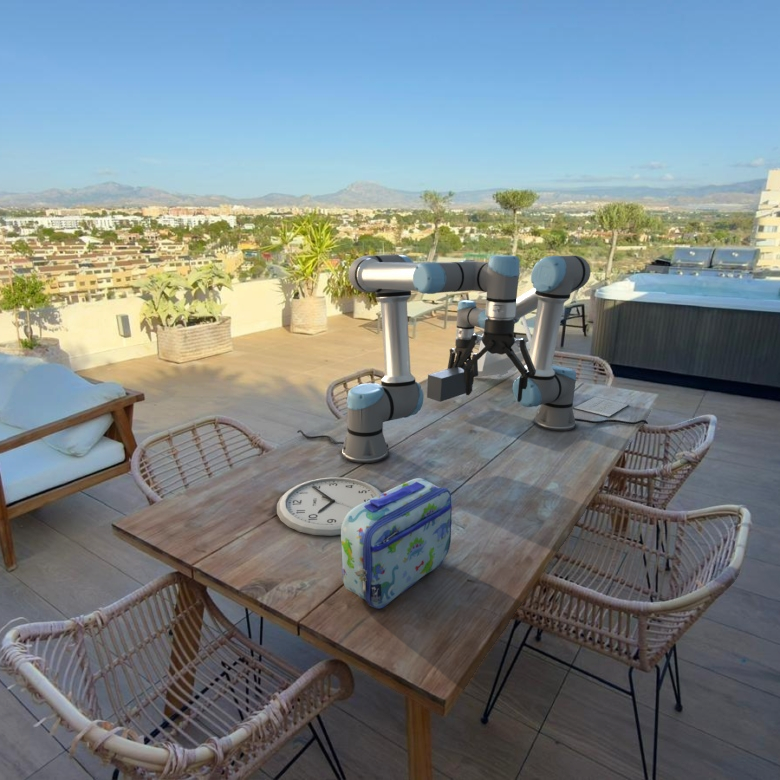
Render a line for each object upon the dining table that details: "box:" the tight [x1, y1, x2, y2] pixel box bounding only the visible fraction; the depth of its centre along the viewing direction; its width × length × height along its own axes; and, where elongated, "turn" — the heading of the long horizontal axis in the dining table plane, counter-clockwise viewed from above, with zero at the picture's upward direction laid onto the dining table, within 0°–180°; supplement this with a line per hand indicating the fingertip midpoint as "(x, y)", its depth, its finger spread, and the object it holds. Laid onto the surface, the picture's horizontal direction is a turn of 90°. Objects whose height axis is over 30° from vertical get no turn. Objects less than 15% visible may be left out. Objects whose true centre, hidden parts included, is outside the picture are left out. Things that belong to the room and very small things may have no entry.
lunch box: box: [340, 477, 452, 610], centre depth 110 cm, size 26×11×21 cm, turn 134°
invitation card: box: [573, 396, 629, 418], centre depth 226 cm, size 21×1×15 cm
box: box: [426, 367, 474, 402], centre depth 221 cm, size 22×7×10 cm, turn 135°
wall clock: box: [276, 476, 383, 537], centre depth 142 cm, size 30×2×30 cm
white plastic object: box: [475, 315, 532, 378], centre depth 258 cm, size 37×45×31 cm
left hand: (493, 397), depth 140 cm, fingers open, 13 cm apart
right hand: (461, 389), depth 227 cm, fingers closed on box, 7 cm apart
